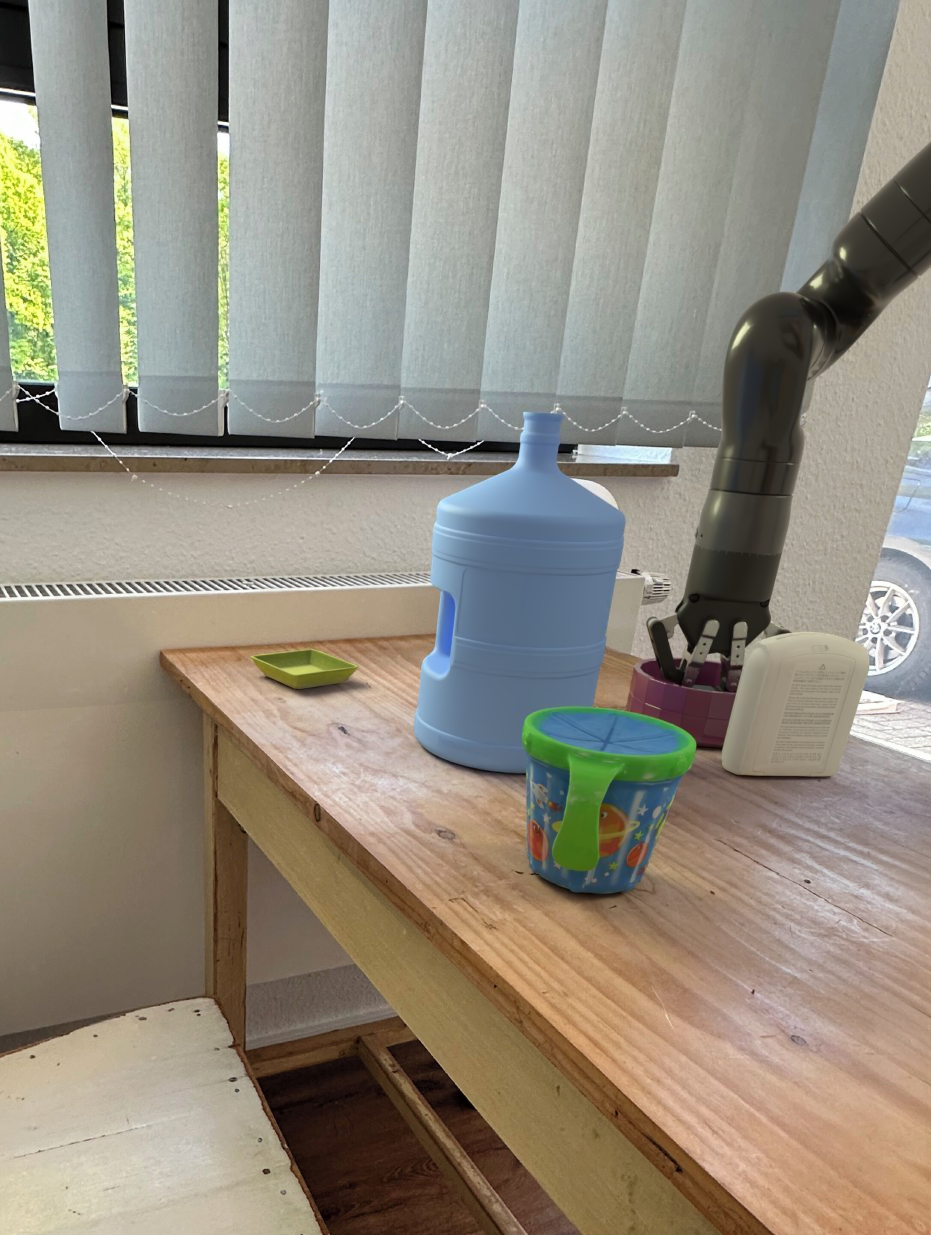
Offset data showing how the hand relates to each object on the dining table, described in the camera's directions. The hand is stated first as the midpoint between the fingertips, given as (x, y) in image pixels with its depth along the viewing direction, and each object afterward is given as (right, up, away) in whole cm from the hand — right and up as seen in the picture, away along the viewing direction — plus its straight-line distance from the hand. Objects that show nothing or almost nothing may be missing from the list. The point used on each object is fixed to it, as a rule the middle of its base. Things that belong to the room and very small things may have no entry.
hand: (698, 723), depth 94 cm
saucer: (-39, +6, +10) cm, 41 cm away
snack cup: (-20, -13, -30) cm, 38 cm away
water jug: (-21, -3, -7) cm, 22 cm away
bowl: (0, 0, +1) cm, 1 cm away
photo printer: (+3, -5, -9) cm, 11 cm away
